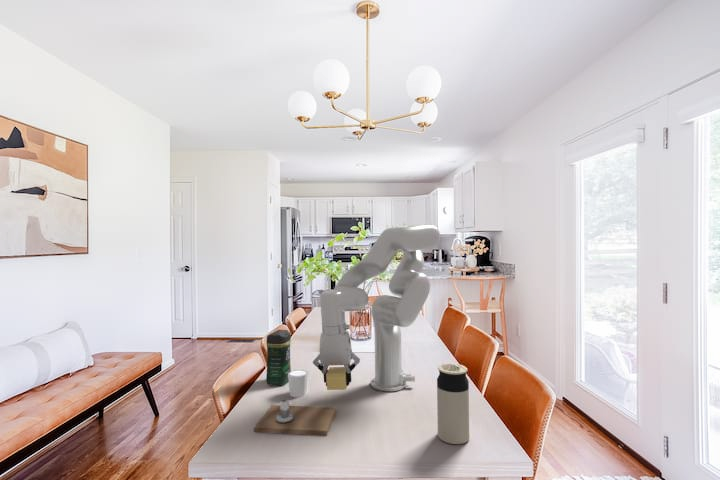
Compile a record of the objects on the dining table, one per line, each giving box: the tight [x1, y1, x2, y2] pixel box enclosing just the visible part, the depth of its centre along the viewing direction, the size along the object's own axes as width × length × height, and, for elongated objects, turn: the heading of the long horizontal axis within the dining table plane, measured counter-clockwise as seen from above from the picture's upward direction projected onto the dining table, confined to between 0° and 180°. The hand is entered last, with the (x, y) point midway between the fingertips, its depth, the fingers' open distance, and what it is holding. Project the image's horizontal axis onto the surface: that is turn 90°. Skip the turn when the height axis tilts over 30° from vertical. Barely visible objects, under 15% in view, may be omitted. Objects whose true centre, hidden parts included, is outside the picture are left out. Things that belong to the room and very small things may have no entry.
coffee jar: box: [265, 329, 292, 387], centre depth 138 cm, size 10×8×19 cm
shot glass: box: [288, 369, 309, 398], centre depth 126 cm, size 7×7×7 cm
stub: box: [276, 399, 293, 424], centre depth 105 cm, size 5×5×5 cm
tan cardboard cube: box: [326, 366, 348, 391], centre depth 121 cm, size 6×6×5 cm
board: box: [253, 404, 337, 436], centre depth 107 cm, size 20×14×1 cm
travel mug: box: [436, 362, 470, 445], centre depth 97 cm, size 8×8×18 cm
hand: (337, 383), depth 121 cm, fingers closed on tan cardboard cube, 6 cm apart
